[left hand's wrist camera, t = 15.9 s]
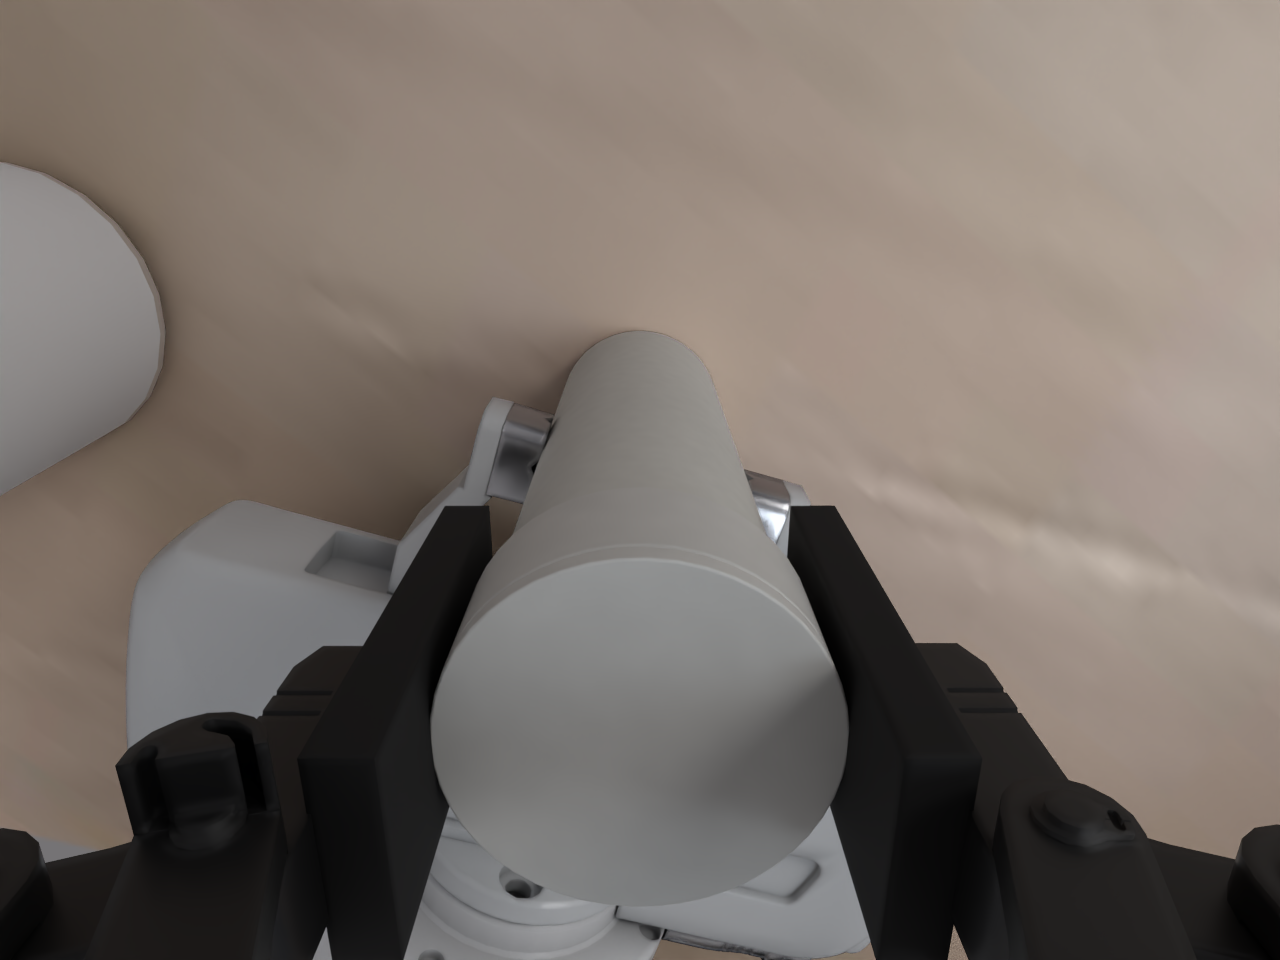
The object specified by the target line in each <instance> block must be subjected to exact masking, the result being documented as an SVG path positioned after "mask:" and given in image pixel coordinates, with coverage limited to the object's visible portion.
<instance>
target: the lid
mask: <svg viewBox="0 0 1280 960" xmlns="http://www.w3.org/2000/svg"><path fill="white" fill-rule="evenodd" d="M430 732H431V743H432V752H433V761H434V769H435V772H436V775H437V779H438V782H439V785H440V787H441V790H442V792H443V794H444V796H445V798H446V800H447V802H448V804H449V806H450V808H451V810H452V811H453V813H454V814H455V816H456V817H457V819H458V820H459V822H460V823H461V825H462V826H463V827H464V828H465V830H466V831H467V832H468V833H469V834H470V835H471V836H472V838H473V839H474V840H475V841H476V842H477V843H478V844H479V845H480V846H481V847H482V848H483V849H484V850H486V851H487V852H488V853H489V854H490V855H491V856H492V857H493V858H495V859H496V860H497V861H499V862H500V863H502V864H503V865H505V866H506V867H507V868H509V869H510V870H512V871H513V872H515V873H516V874H518V875H520V876H522V877H524V878H526V879H527V880H529V881H531V882H533V883H535V884H537V885H539V886H542V887H544V888H547V889H549V890H552V891H554V892H557V893H559V894H563V895H566V896H570V897H573V898H577V899H580V900H584V901H590V902H595V903H601V904H606V905H617V906H630V907H640V906H663V905H671V904H679V903H685V902H690V901H694V900H698V899H703V898H707V897H710V896H713V895H716V894H719V893H722V892H725V891H728V890H731V889H733V888H735V887H737V886H739V885H742V884H744V883H746V882H748V881H750V880H752V879H754V878H756V877H757V876H759V875H761V874H762V873H764V872H766V871H767V870H769V869H771V868H772V867H774V866H775V865H776V864H778V863H779V862H780V861H782V860H783V859H784V858H785V857H787V856H788V855H789V854H791V853H792V852H793V851H794V850H795V849H796V848H797V847H798V846H799V845H800V844H801V843H802V842H803V841H804V840H805V839H806V838H807V837H808V836H809V835H810V833H811V832H812V831H813V830H814V828H815V827H816V826H817V824H818V823H819V822H820V821H821V819H822V818H823V816H824V815H825V813H826V811H827V809H828V808H829V806H830V804H831V803H832V801H833V799H834V797H835V795H836V792H837V790H838V787H839V785H840V782H841V780H842V777H843V773H844V769H845V764H846V757H847V747H848V737H849V714H848V706H847V702H846V698H845V693H844V689H843V685H842V683H841V680H840V678H839V675H838V672H837V670H836V668H835V665H834V662H833V660H832V657H831V655H830V652H829V650H828V647H827V645H826V642H825V640H824V637H823V635H822V632H821V630H820V627H819V625H818V622H817V620H816V617H815V614H814V612H813V609H812V607H811V604H810V602H809V599H808V597H807V594H806V592H805V590H804V587H803V585H802V583H801V580H800V578H799V576H798V574H797V573H796V571H795V569H794V568H793V566H792V565H791V563H790V561H789V560H788V558H787V557H786V556H785V555H784V553H783V552H782V551H781V550H780V549H779V547H778V546H777V545H776V544H775V542H774V541H772V540H771V539H770V538H769V537H768V536H767V535H766V534H765V533H764V532H763V531H761V530H760V529H759V528H758V527H757V526H755V525H754V524H753V523H751V522H750V521H748V520H747V519H745V518H744V517H742V516H741V515H740V514H738V513H736V512H734V511H732V510H730V509H728V508H726V507H724V506H722V505H720V504H718V503H716V502H713V501H710V500H708V499H705V498H702V497H699V496H697V495H693V494H689V493H684V492H680V491H675V490H670V489H660V488H650V487H636V488H618V489H611V490H604V491H598V492H594V493H591V494H587V495H584V496H580V497H576V498H573V499H571V500H569V501H566V502H564V503H562V504H559V505H557V506H554V507H552V508H551V509H549V510H547V511H545V512H544V513H542V514H540V515H538V516H537V517H535V518H533V519H532V520H531V521H529V522H528V523H527V524H525V525H524V526H523V527H522V528H520V529H519V530H518V531H516V532H515V533H514V534H513V535H512V536H511V537H510V538H509V539H508V540H507V541H506V542H505V543H504V544H503V545H502V546H501V547H500V548H499V550H498V551H497V552H496V554H495V555H494V556H493V558H492V559H491V560H490V562H489V563H488V565H487V566H486V568H485V570H484V571H483V573H482V575H481V577H480V579H479V581H478V583H477V585H476V587H475V590H474V592H473V595H472V597H471V600H470V602H469V605H468V607H467V610H466V612H465V615H464V617H463V620H462V622H461V625H460V627H459V630H458V632H457V635H456V637H455V640H454V642H453V645H452V647H451V650H450V652H449V655H448V658H447V660H446V662H445V665H444V667H443V670H442V673H441V675H440V678H439V681H438V684H437V687H436V690H435V693H434V697H433V703H432V708H431V714H430Z"/></svg>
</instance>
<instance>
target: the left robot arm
mask: <svg viewBox="0 0 1280 960" xmlns="http://www.w3.org/2000/svg"><path fill="white" fill-rule="evenodd" d="M492 558H493V556H492V542H491V527H490V512H489V506H445V507H444V508H443V510H442V512H441V513H440V515H439V517H438V519H437V520H436V522H435V524H434V525H433V527H432V529H431V530H430V532H429V534H428V536H427V537H426V539H425V541H424V542H423V544H422V546H421V548H420V549H419V551H418V553H417V554H416V556H415V558H414V560H413V561H412V563H411V565H410V566H409V568H408V570H407V571H406V573H405V575H404V577H403V578H402V580H401V582H400V583H399V585H398V587H397V589H396V590H395V592H394V594H393V595H392V597H391V599H390V600H389V602H388V604H387V606H386V607H385V609H384V611H383V612H382V614H381V616H380V618H379V619H378V621H377V623H376V624H375V626H374V628H373V629H372V631H371V633H370V635H369V636H368V638H367V640H366V641H365V643H364V645H363V646H322V647H321V648H319V649H318V650H316V651H315V652H314V653H312V654H311V655H309V656H308V657H306V658H305V659H304V660H302V661H301V662H299V663H298V664H297V665H295V666H294V667H293V668H292V670H291V671H290V672H289V674H288V675H287V677H286V678H285V680H284V681H283V682H282V684H281V685H280V687H279V688H278V690H277V694H276V695H273V697H272V698H271V700H270V701H269V702H268V704H267V705H266V707H265V708H264V709H263V714H262V716H259V717H258V718H257V719H256V718H255V717H253V716H249V715H245V714H241V713H237V712H215V713H205V714H201V715H197V716H192V717H188V718H184V719H180V720H178V721H175V722H173V723H171V724H168V725H166V726H164V727H162V728H159V729H157V730H155V731H153V732H151V733H150V734H148V735H147V736H145V737H144V738H143V739H141V740H140V741H138V742H137V743H135V744H134V745H133V746H131V747H130V748H129V749H128V750H127V751H126V753H125V754H124V755H123V757H122V758H121V759H120V760H119V762H118V763H117V764H116V765H115V767H116V770H117V774H118V778H119V781H120V785H121V789H122V793H123V796H124V800H125V804H126V808H127V811H128V815H129V819H130V822H131V826H132V830H133V834H134V837H133V839H132V842H129V843H126V844H123V845H119V846H116V847H113V848H109V849H104V850H100V851H96V852H91V853H87V854H83V855H78V856H74V857H69V858H65V859H61V860H56V861H52V862H48V863H45V861H44V858H43V855H42V852H41V849H40V846H39V842H37V841H36V840H35V839H34V838H33V837H32V836H30V835H29V834H28V833H27V832H25V831H18V830H12V829H5V828H1V829H0V960H313V958H314V955H315V953H316V950H317V948H318V946H319V943H320V941H321V938H322V936H323V934H324V931H325V929H326V928H327V934H328V939H329V945H330V951H331V957H332V960H404V956H405V953H406V950H407V946H408V943H409V940H410V936H411V933H412V930H413V926H414V923H415V920H416V916H417V913H418V910H419V906H420V903H421V900H422V897H423V893H424V890H425V887H426V883H427V880H428V877H429V873H430V870H431V867H432V863H433V860H434V857H435V853H436V850H437V847H438V843H439V840H440V837H441V833H442V830H443V827H444V823H445V820H446V817H447V813H448V810H449V807H450V806H449V804H448V802H447V800H446V798H445V796H444V794H443V792H442V790H441V787H440V785H439V782H438V779H437V775H436V772H435V769H434V761H433V752H432V743H431V732H430V714H431V708H432V703H433V697H434V693H435V690H436V687H437V684H438V681H439V678H440V675H441V673H442V670H443V667H444V665H445V662H446V660H447V658H448V655H449V652H450V650H451V647H452V645H453V642H454V640H455V637H456V635H457V632H458V630H459V627H460V625H461V622H462V620H463V617H464V615H465V612H466V610H467V607H468V605H469V602H470V600H471V597H472V595H473V592H474V590H475V587H476V585H477V583H478V581H479V579H480V577H481V575H482V573H483V571H484V570H485V568H486V566H487V565H488V563H489V562H490V560H491V559H492ZM787 558H788V560H789V561H790V563H791V565H792V566H793V568H794V569H795V571H796V573H797V574H798V576H799V578H800V580H801V583H802V585H803V587H804V590H805V592H806V594H807V597H808V599H809V602H810V604H811V607H812V609H813V612H814V614H815V617H816V620H817V622H818V625H819V627H820V630H821V632H822V635H823V637H824V640H825V642H826V645H827V647H828V650H829V652H830V655H831V657H832V660H833V662H834V665H835V668H836V670H837V672H838V675H839V678H840V680H841V683H842V685H843V689H844V693H845V698H846V702H847V706H848V714H849V737H848V747H847V757H846V764H845V769H844V773H843V777H842V780H841V782H840V785H839V787H838V790H837V792H836V795H835V797H834V799H833V801H832V803H831V804H830V808H831V811H832V815H833V818H834V821H835V825H836V828H837V831H838V835H839V838H840V841H841V845H842V848H843V851H844V855H845V858H846V861H847V865H848V868H849V871H850V875H851V878H852V881H853V885H854V888H855V891H856V895H857V898H858V901H859V905H860V908H861V911H862V915H863V918H864V921H865V925H866V928H867V931H868V935H869V938H870V941H871V945H872V948H873V951H874V955H875V958H876V960H947V959H948V954H949V948H950V942H951V937H952V931H953V925H954V926H955V928H956V931H957V933H958V935H959V938H960V940H961V943H962V945H963V947H964V950H965V952H966V955H967V957H968V959H969V960H1280V825H1271V826H1264V827H1258V828H1254V829H1253V830H1252V831H1250V832H1249V833H1248V834H1247V835H1246V836H1245V837H1243V838H1242V840H1241V843H1240V847H1239V850H1238V853H1237V856H1236V859H1231V858H1226V857H1222V856H1217V855H1213V854H1209V853H1204V852H1200V851H1195V850H1191V849H1187V848H1182V847H1178V846H1173V845H1169V844H1166V843H1162V842H1159V841H1156V840H1152V839H1149V838H1147V835H1146V834H1145V832H1144V831H1143V829H1142V828H1141V826H1140V825H1139V823H1138V822H1137V820H1136V819H1135V817H1134V816H1133V815H1132V814H1131V813H1130V812H1128V811H1127V810H1126V809H1125V808H1123V807H1122V806H1121V805H1120V804H1119V803H1117V802H1116V801H1115V800H1114V799H1112V798H1111V797H1109V796H1107V795H1105V794H1103V793H1101V792H1099V791H1097V790H1095V789H1093V788H1091V787H1089V786H1087V785H1084V784H1080V783H1077V782H1073V781H1070V780H1068V779H1067V777H1066V776H1065V775H1064V773H1063V772H1062V770H1061V769H1060V767H1059V766H1058V765H1057V763H1056V762H1055V760H1054V759H1053V758H1052V756H1051V755H1050V753H1049V752H1048V750H1047V749H1046V748H1045V746H1044V745H1043V743H1042V742H1041V741H1040V739H1039V738H1038V736H1037V735H1036V733H1035V732H1034V731H1033V729H1032V728H1031V726H1030V725H1029V724H1028V722H1027V721H1026V719H1025V718H1024V717H1023V715H1022V714H1021V713H1018V711H1017V707H1016V705H1015V704H1014V702H1013V701H1012V700H1011V698H1010V697H1009V695H1008V694H1007V693H1004V692H1003V687H1002V685H1001V684H1000V683H999V681H998V680H997V678H996V677H995V675H994V674H993V673H992V671H991V670H990V668H989V667H988V666H987V664H986V663H984V662H983V661H982V660H980V659H979V658H977V657H976V656H974V655H973V654H972V653H970V652H969V651H967V650H966V649H964V648H963V647H962V646H960V645H959V644H957V643H915V642H914V641H913V639H912V637H911V635H910V634H909V632H908V630H907V629H906V627H905V625H904V623H903V622H902V620H901V618H900V617H899V615H898V613H897V612H896V610H895V608H894V606H893V605H892V603H891V601H890V600H889V598H888V596H887V594H886V593H885V591H884V589H883V588H882V586H881V584H880V583H879V581H878V579H877V577H876V576H875V574H874V572H873V571H872V569H871V567H870V565H869V564H868V562H867V560H866V559H865V557H864V555H863V554H862V552H861V550H860V548H859V547H858V545H857V543H856V542H855V540H854V538H853V536H852V535H851V533H850V531H849V530H848V528H847V526H846V524H845V523H844V521H843V519H842V518H841V516H840V514H839V513H838V511H837V509H836V507H835V506H790V520H789V535H788V550H787Z"/></svg>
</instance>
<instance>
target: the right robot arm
mask: <svg viewBox="0 0 1280 960" xmlns="http://www.w3.org/2000/svg"><path fill="white" fill-rule="evenodd" d="M553 418H554V415H553V414H550V413H546V412H543V411H540V410H536V409H533V408H530V407H527V406H523V405H520V404H517V403H514V402H513V401H509V400H505V399H500V398H496V397H492V399H491V400H490V402H489V404H488V405H487V407H486V408H485V411H484V414H483V416H482V419H481V422H480V425H479V428H478V431H477V435H476V439H475V443H474V447H473V451H472V455H471V459H470V463H469V465H468V466H467V467H466V468H465V469H464V470H463V471H462V472H461V473H460V474H459V475H457V476H456V477H455V478H454V479H453V480H452V481H451V482H450V483H449V484H448V485H447V486H446V487H445V488H444V489H443V490H442V491H441V492H439V493H438V494H437V495H436V496H435V497H434V498H433V499H432V500H431V501H430V502H429V503H428V504H427V505H426V506H425V507H424V508H423V509H421V510H420V512H419V513H418V515H417V517H416V518H415V520H414V521H413V523H412V524H411V526H410V527H409V529H408V530H407V532H406V533H405V535H404V536H403V538H402V539H401V541H399V540H395V539H392V538H388V537H384V536H381V535H377V534H373V533H369V532H366V531H362V530H358V529H355V528H351V527H347V526H343V525H340V524H336V523H332V522H328V521H325V520H321V519H317V518H314V517H310V516H306V515H302V514H299V513H295V512H291V511H287V510H284V509H280V508H276V507H273V506H270V505H266V504H263V503H259V502H255V501H250V500H236V501H232V502H229V503H227V504H225V505H224V506H222V507H220V508H218V509H217V510H215V511H213V512H212V513H210V514H208V515H207V516H205V517H203V518H202V519H200V520H199V521H197V522H196V523H194V524H193V525H191V526H190V527H188V528H187V529H186V530H184V531H183V532H181V533H180V534H179V535H178V536H177V537H175V538H174V539H173V540H172V541H171V542H170V543H168V544H167V545H166V546H165V547H164V548H163V549H161V550H160V551H159V552H158V553H157V554H156V555H155V557H154V558H153V559H152V560H151V561H150V562H149V563H148V565H147V566H146V567H145V569H144V570H143V572H142V573H141V575H140V577H139V579H138V581H137V584H136V587H135V590H134V594H133V599H132V604H131V611H130V620H129V630H128V643H127V660H126V731H127V749H129V748H130V747H131V746H133V745H134V744H135V743H137V742H138V741H140V740H141V739H143V738H144V737H145V736H147V735H148V734H150V733H151V732H153V731H155V730H157V729H159V728H162V727H164V726H166V725H168V724H171V723H173V722H175V721H178V720H180V719H184V718H188V717H192V716H197V715H201V714H205V713H215V712H237V713H241V714H245V715H249V716H253V717H255V718H256V719H257V718H258V717H259V716H262V714H263V709H264V708H265V707H266V705H267V704H268V702H269V701H270V700H271V698H272V697H273V695H276V694H277V690H278V688H279V687H280V685H281V684H282V682H283V681H284V680H285V678H286V677H287V675H288V674H289V672H290V671H291V670H292V668H293V667H294V666H295V665H297V664H298V663H299V662H301V661H302V660H304V659H305V658H306V657H308V656H309V655H311V654H312V653H314V652H315V651H316V650H318V649H319V648H321V647H322V646H363V645H364V643H365V641H366V640H367V638H368V636H369V635H370V633H371V631H372V629H373V628H374V626H375V624H376V623H377V621H378V619H379V618H380V616H381V614H382V612H383V611H384V609H385V607H386V606H387V604H388V602H389V600H390V599H391V597H392V595H393V594H394V592H395V590H396V589H397V587H398V585H399V583H400V582H401V580H402V578H403V577H404V575H405V573H406V571H407V570H408V568H409V566H410V565H411V563H412V561H413V560H414V558H415V556H416V554H417V553H418V551H419V549H420V548H421V546H422V544H423V542H424V541H425V539H426V537H427V536H428V534H429V532H430V530H431V529H432V527H433V525H434V524H435V522H436V520H437V519H438V517H439V515H440V513H441V512H442V510H443V508H444V507H445V506H483V505H484V504H485V503H486V502H487V501H488V500H489V499H490V498H491V497H492V496H494V497H498V498H501V499H505V500H509V501H513V502H517V503H521V504H524V501H525V498H526V495H527V493H528V490H529V487H530V484H531V481H532V478H533V476H534V473H535V470H536V467H537V464H538V461H539V459H540V457H541V454H542V452H543V449H544V447H545V444H546V441H547V437H548V435H549V432H550V429H551V425H552V422H553ZM744 472H745V475H746V478H747V480H748V483H749V486H750V489H751V492H752V495H753V497H754V500H755V503H756V506H757V509H758V512H759V514H760V517H761V520H762V523H763V526H764V529H765V532H766V534H767V536H768V537H769V538H770V539H771V540H772V541H774V542H775V544H776V545H777V546H778V547H779V549H780V550H781V551H782V552H783V553H784V555H785V556H786V557H787V550H788V535H789V520H790V506H811V504H810V500H809V498H808V496H807V494H806V492H805V491H804V489H803V487H802V486H801V485H798V484H794V483H791V482H787V481H784V480H781V479H777V478H774V477H770V476H766V475H763V474H759V473H756V472H752V471H748V470H745V469H744ZM661 939H662V940H668V941H671V942H676V943H680V944H685V945H689V946H694V947H698V948H703V949H707V950H714V951H722V952H735V953H743V954H748V955H751V956H756V957H760V958H761V959H762V960H811V959H817V958H826V957H831V956H836V955H839V954H842V953H845V952H847V953H857V952H860V951H861V950H862V949H864V948H865V947H866V946H867V945H868V944H869V943H870V942H871V941H870V938H869V935H868V931H867V928H866V925H865V921H864V918H863V915H862V911H861V908H860V905H859V901H858V898H857V895H856V891H855V888H854V885H853V881H852V878H851V875H850V871H849V868H848V865H847V861H846V858H845V855H844V851H843V848H842V845H841V841H840V838H839V835H838V831H837V828H836V825H835V821H834V818H833V815H832V811H831V808H830V806H829V808H828V809H827V811H826V813H825V815H824V816H823V818H822V819H821V821H820V822H819V823H818V824H817V826H816V827H815V828H814V830H813V831H812V832H811V833H810V835H809V836H808V837H807V838H806V839H805V840H804V841H803V842H802V843H801V844H800V845H799V846H798V847H797V848H796V849H795V850H794V851H793V852H792V853H791V854H789V855H788V856H787V857H785V858H784V859H783V860H782V861H780V862H779V863H778V864H776V865H775V866H774V867H772V868H771V869H769V870H767V871H766V872H764V873H762V874H761V875H759V876H757V877H756V878H754V879H752V880H750V881H748V882H746V883H744V884H742V885H739V886H737V887H735V888H733V889H731V890H728V891H725V892H722V893H719V894H716V895H713V896H710V897H707V898H703V899H698V900H694V901H690V902H685V903H679V904H671V905H663V906H640V907H630V906H617V905H606V904H601V903H595V902H590V901H584V900H580V899H577V898H573V897H570V896H566V895H563V894H559V893H557V892H554V891H552V890H549V889H547V888H544V887H542V886H539V885H537V884H535V883H533V882H531V881H529V880H527V879H526V878H524V877H522V876H520V875H518V874H516V873H515V872H513V871H512V870H510V869H509V868H507V867H506V866H505V865H503V864H502V863H500V862H499V861H497V860H496V859H495V858H493V857H492V856H491V855H490V854H489V853H488V852H487V851H486V850H484V849H483V848H482V847H481V846H480V845H479V844H478V843H477V842H476V841H475V840H474V839H473V838H472V836H471V835H470V834H469V833H468V832H467V831H466V830H465V828H464V827H463V826H462V825H461V823H460V822H459V820H458V819H457V817H456V816H455V814H454V813H453V811H452V810H451V808H450V807H449V810H448V813H447V817H446V820H445V823H444V827H443V830H442V833H441V837H440V840H439V843H438V847H437V850H436V853H435V857H434V860H433V863H432V867H431V870H430V873H429V877H428V880H427V883H426V887H425V890H424V893H423V897H422V900H421V903H420V906H419V910H418V913H417V916H416V920H415V923H414V926H413V930H412V933H411V936H410V940H409V943H408V946H407V950H406V953H405V956H404V960H652V959H653V957H654V955H655V952H656V950H657V947H658V945H659V943H660V940H661ZM313 960H332V957H331V951H330V945H329V939H328V934H327V928H326V929H325V931H324V934H323V936H322V938H321V941H320V943H319V946H318V948H317V950H316V953H315V955H314V958H313Z"/></svg>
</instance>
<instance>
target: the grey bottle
mask: <svg viewBox="0 0 1280 960" xmlns="http://www.w3.org/2000/svg"><path fill="white" fill-rule="evenodd" d="M636 487H650V488H660V489H670V490H675V491H680V492H684V493H689V494H693V495H697V496H699V497H702V498H705V499H708V500H710V501H713V502H716V503H718V504H720V505H722V506H724V507H726V508H728V509H730V510H732V511H734V512H736V513H738V514H740V515H741V516H742V517H744V518H745V519H747V520H748V521H750V522H751V523H753V524H754V525H755V526H757V527H758V528H759V529H760V530H761V531H763V532H764V533H765V534H766V532H765V529H764V526H763V523H762V520H761V517H760V514H759V512H758V509H757V506H756V503H755V500H754V497H753V495H752V492H751V489H750V486H749V483H748V480H747V478H746V475H745V472H744V469H743V466H742V463H741V460H740V458H739V455H738V452H737V449H736V446H735V443H734V441H733V438H732V435H731V432H730V429H729V426H728V424H727V421H726V418H725V415H724V412H723V409H722V407H721V404H720V401H719V398H718V395H717V392H716V389H715V387H714V384H713V381H712V379H711V376H710V374H709V372H708V370H707V369H706V367H705V365H704V364H703V362H702V361H701V360H700V358H699V357H698V356H697V355H696V354H695V353H694V352H693V351H692V350H691V349H689V348H688V347H687V346H685V345H684V344H682V343H681V342H679V341H677V340H676V339H674V338H671V337H669V336H666V335H663V334H659V333H656V332H649V331H631V332H624V333H620V334H616V335H613V336H611V337H608V338H606V339H604V340H602V341H600V342H599V343H597V344H595V345H594V346H593V347H591V348H590V349H589V350H588V351H587V352H586V353H585V354H584V355H583V356H582V357H581V358H580V359H579V360H578V362H577V363H576V364H575V366H574V367H573V369H572V371H571V373H570V374H569V377H568V380H567V382H566V385H565V388H564V390H563V393H562V396H561V399H560V402H559V405H558V407H557V410H556V413H555V416H554V419H553V422H552V425H551V429H550V432H549V435H548V437H547V441H546V444H545V447H544V449H543V452H542V454H541V457H540V459H539V461H538V464H537V467H536V470H535V473H534V476H533V478H532V481H531V484H530V487H529V490H528V493H527V495H526V498H525V501H524V504H523V507H522V510H521V512H520V515H519V518H518V521H517V524H516V527H515V529H514V532H513V534H514V533H515V532H516V531H518V530H519V529H520V528H522V527H523V526H524V525H525V524H527V523H528V522H529V521H531V520H532V519H533V518H535V517H537V516H538V515H540V514H542V513H544V512H545V511H547V510H549V509H551V508H552V507H554V506H557V505H559V504H562V503H564V502H566V501H569V500H571V499H573V498H576V497H580V496H584V495H587V494H591V493H594V492H598V491H604V490H611V489H618V488H636ZM766 535H767V534H766Z"/></svg>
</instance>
